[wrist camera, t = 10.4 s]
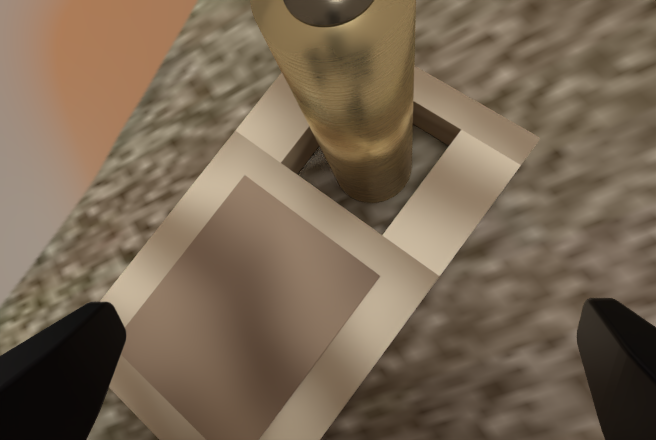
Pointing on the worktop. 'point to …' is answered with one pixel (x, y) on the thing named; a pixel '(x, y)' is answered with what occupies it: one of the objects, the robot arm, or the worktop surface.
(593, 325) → the robot arm
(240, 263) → the jig plate
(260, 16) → the cylinder
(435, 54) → the worktop surface
